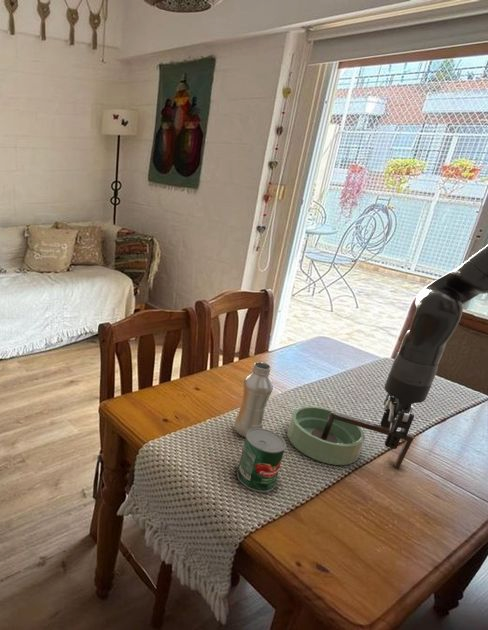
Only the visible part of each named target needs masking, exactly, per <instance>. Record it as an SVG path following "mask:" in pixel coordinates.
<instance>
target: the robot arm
mask: <svg viewBox="0 0 488 630" xmlns="http://www.w3.org/2000/svg"><path fill="white" fill-rule="evenodd" d="M480 294H483V295H485V294H488V244H487V245H486V246H485V247H482V249H480V250H479V251H478V252H476V253H475V254H473V255H472V256H471V257H469V258H468V259H467V260H466V261H464V262H463V263H461V265H459V266H458V267H457V268H455V269H453V270H452V271H450V272H448V273H446V274H444V275H442V276H441V277H439V278H437V279H436V280H433V281H432V282H431V283H429V284H428V285H426V286H425V287H424V288H423V289H422V290H421V291H420V292H419V293H418V294H417V296H416V298H415V308H416V309H415V313H414V316H413V320H412V321H411V325H410V328H409V330H407V332H406V333H405V334H404V336H403V338H402V341H401V344H400V347H399V350H398V352H397V354H396V356H395V357H394V359H393V362H392V364H391V367H390V370H389V373H388V376H387V378H386V381H385V383H384V390H385V392H386V393H387V394H386V396H385V399H384V401H383V406H384V407H383V411H384V412H383V415H382V417H381V420H380V422H379V423H380V424H379V425H381V426H385V427H388V428H390V429H389V433H388V435H386V438H385V440H384V446H385V447H386V448H389V449H393V450H396V449H398V447H399V444H400V442H401V440H402V439H401V438H404V439H406V437H407V434H409V431H410V428H411V426H412V423H413V421H414V419H415V414H413V411H414V410H413V409H414V407H413V406H412V405H414V404H420V403H423V402H425V401H426V399H427V397H428V395H429V392H430V390H431V387H432V386H433V383H434V381H435V378H436V375H437V373H438V369H439V367H438V366H439V364H440V362H441V360H442V359H441V358H442V357H443V354H444V351H445V349H446V345H447V343H448V342H449V340H450V339H451V337H452V335H453V334H454V333H455V330H456V329H457V327H458V325H459V323H460V321H461V318H462V315H463V311H464V307H463V305H464V304H466V303H468V302H469V301H471V300H473V299H474V298H476V297H477V296H479V295H480Z"/></svg>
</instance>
